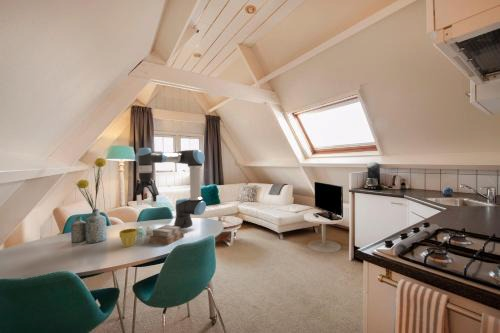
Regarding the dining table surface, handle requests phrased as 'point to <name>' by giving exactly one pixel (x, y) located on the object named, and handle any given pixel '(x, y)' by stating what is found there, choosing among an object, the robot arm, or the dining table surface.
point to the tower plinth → (166, 240)
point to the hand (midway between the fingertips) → (146, 205)
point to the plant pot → (128, 237)
